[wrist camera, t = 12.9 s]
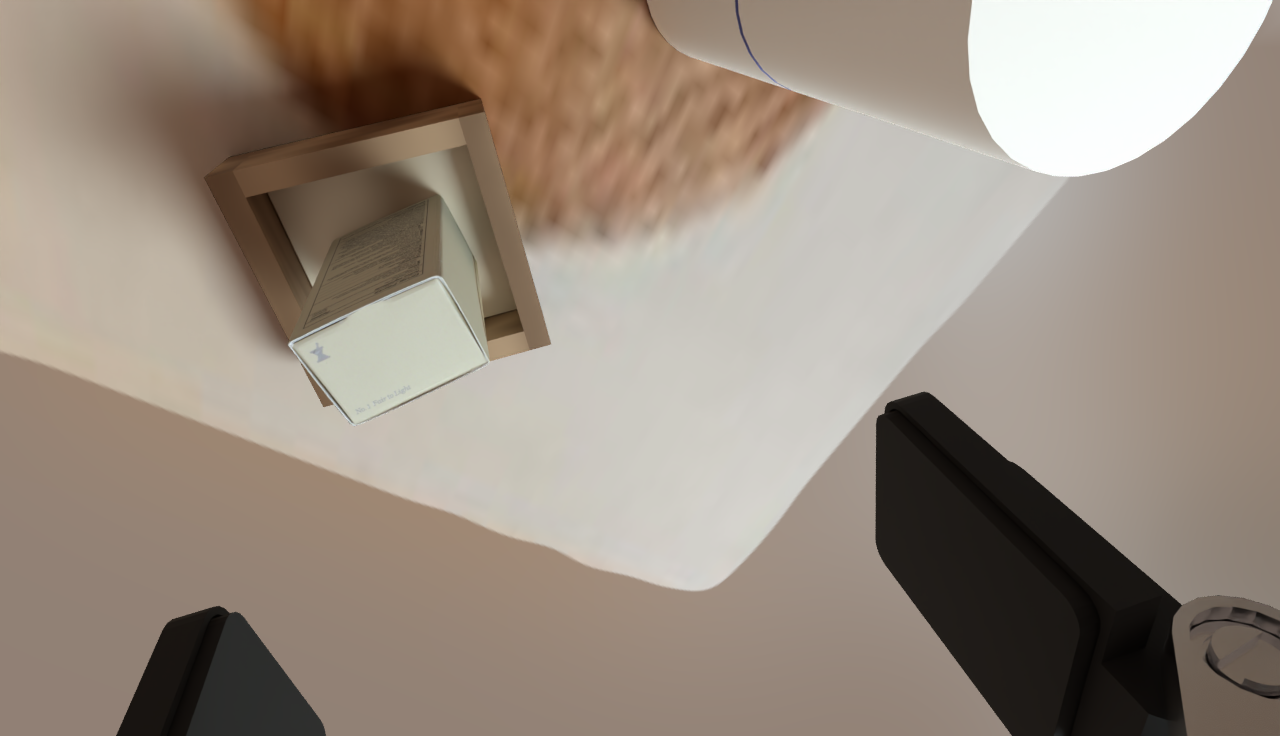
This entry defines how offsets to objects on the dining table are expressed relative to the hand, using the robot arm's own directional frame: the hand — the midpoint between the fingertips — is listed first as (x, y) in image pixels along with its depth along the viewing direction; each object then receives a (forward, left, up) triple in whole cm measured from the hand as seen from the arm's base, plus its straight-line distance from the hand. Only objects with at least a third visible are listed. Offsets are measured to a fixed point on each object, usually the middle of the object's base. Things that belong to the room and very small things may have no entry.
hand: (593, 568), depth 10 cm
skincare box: (+6, +4, -29) cm, 30 cm away
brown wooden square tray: (+6, +4, -30) cm, 31 cm away
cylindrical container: (-13, -5, -31) cm, 34 cm away
